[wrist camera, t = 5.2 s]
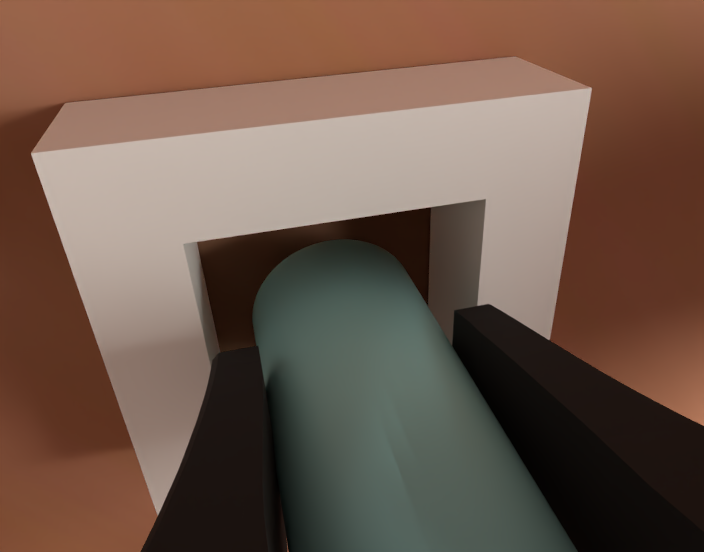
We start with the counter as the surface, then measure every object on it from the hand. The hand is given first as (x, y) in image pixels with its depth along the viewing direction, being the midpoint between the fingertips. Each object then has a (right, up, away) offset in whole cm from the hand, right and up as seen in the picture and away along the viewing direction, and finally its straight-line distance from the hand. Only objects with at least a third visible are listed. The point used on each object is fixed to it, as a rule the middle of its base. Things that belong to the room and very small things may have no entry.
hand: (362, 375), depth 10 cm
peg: (-1, +1, +2) cm, 2 cm away
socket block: (-1, +2, +3) cm, 3 cm away
